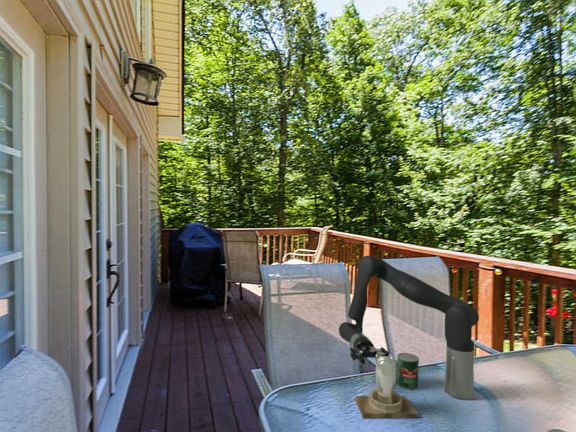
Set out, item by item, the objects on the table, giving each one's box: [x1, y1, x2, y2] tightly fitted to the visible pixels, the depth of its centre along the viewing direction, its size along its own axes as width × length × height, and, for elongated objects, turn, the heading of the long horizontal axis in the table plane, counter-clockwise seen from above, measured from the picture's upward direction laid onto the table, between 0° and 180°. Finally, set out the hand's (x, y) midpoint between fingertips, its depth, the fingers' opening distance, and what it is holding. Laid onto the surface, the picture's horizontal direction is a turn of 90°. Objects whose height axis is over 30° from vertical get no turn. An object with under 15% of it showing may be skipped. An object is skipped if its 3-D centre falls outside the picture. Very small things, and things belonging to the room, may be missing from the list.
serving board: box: [354, 388, 419, 419], centre depth 122 cm, size 18×11×4 cm, turn 93°
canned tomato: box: [396, 352, 420, 391], centre depth 139 cm, size 8×8×11 cm
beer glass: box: [374, 355, 397, 404], centre depth 122 cm, size 7×7×15 cm
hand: (375, 361), depth 132 cm, fingers open, 8 cm apart
